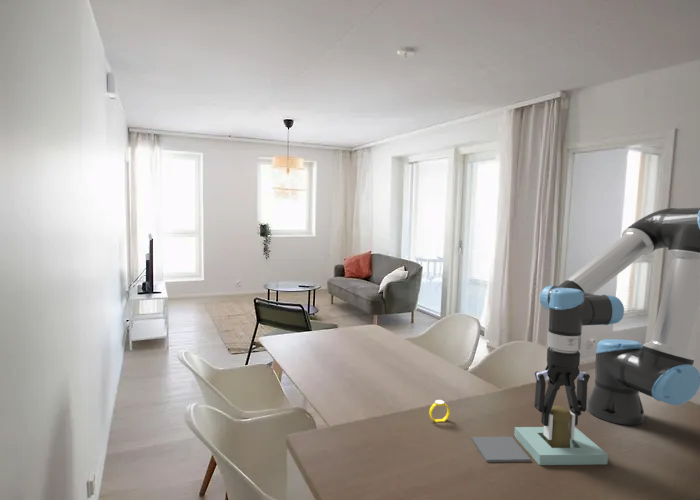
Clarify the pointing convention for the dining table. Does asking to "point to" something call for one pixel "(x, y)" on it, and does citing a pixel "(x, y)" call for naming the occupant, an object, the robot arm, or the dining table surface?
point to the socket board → (544, 454)
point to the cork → (560, 428)
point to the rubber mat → (500, 449)
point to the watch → (439, 403)
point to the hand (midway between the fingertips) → (558, 436)
